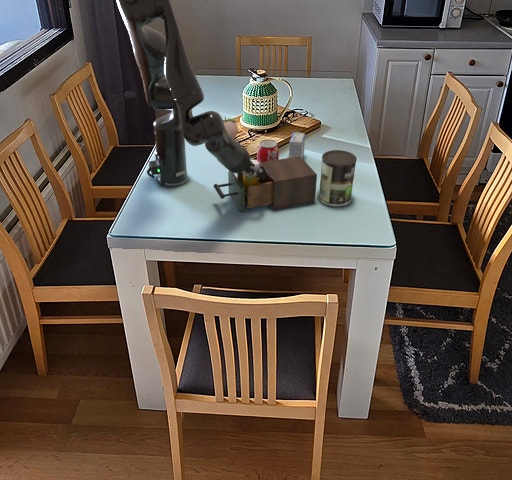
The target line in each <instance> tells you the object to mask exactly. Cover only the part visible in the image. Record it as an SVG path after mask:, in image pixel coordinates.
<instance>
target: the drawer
mask: <svg viewBox="0 0 512 480" xmlns="http://www.w3.org/2000/svg"><path fill="white" fill-rule="evenodd" d="M227 179H228V180H227V182H228V183H221V184H218V183H214V184H213V188H214V190H215V192H216V193H217V195H218V197H219V198H220V199H222V200H224V199H225V198H227V197H230V199H231V200H232V201H233V203H234V204H235V206H236V207H237V209H238V210H239V212H240V213H244V212H245V207H246V208H247V209H252V208H258V207H264V206H270V204H273V182H272V180H271V179H270V178H269V177H268V175H266V180H265V182H264V183H261V184H255V185H249V186H247V194H245V188H244V187H243V175H242V174H241V173H232V172H230V171H229V170H228V172H227ZM223 187H228V193H225V194H224V192H223V191H222V189H221V188H223Z"/></svg>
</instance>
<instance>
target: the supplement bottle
mask: <svg viewBox="0 0 512 480" xmlns="http://www.w3.org/2000/svg"><path fill="white" fill-rule="evenodd" d="M250 160H251V161H252V162H253V163H254V164H255V165H257V166H258V167H259V162H258V161H257V159H250ZM251 173H252V172H251ZM255 184H261V182H260V181H259V180H258V179H257V178H255V177H251V176H249V175H247V174H246V173H243V187H244V188H245V194H247V186H249V185H255Z"/></svg>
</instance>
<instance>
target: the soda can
mask: <svg viewBox="0 0 512 480" xmlns="http://www.w3.org/2000/svg"><path fill="white" fill-rule="evenodd" d="M279 155H280V147H279V146H278V142H277V141H276V140H274V139H262V140H261V141H259V143H258V146H257V149H256V160H257V161H258V162H259V163H260V162H266V161H273V160H279V159H280V156H279Z"/></svg>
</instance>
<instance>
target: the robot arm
mask: <svg viewBox="0 0 512 480" xmlns="http://www.w3.org/2000/svg"><path fill="white" fill-rule="evenodd" d="M116 3H117V7H118V9H119V12H120V15H121V17H122V20H123V22H124V25H125V27H126V29H127V32H128V35H129V39H130V42H131V45H132V49H133V54H134V58H135V61H136V64H137V68H138V70H139V73H140V76H141V79H142V80H141V81H142V84H143V90H144V96H145V101H146V103H147V106H148V107H149V108H150V109H152V110H154V111H170V112H169V113H167V114H165V115H162V116H160V117H157V119H155V120H154V122H153V131H154V132H153V133H154V143H155V151H154V157H155V160H148V169H147V170H146V174H147V175H148V177H150V178H151V179H154V178H155V177H157V180H158V182H159V184H160V186H161V187H163V186H167V187H179V186H181V185H184V184H185V183H186V182H187V181H188V178H189V177H188V169H187V155H186V154H187V153H186V142H187V143H188V144H189V145H190V146H192V147H198V146H201V145H203V144H204V146H205V149H206V150H207V152H208V153H210V155H212V156H213V157H214V158H215V159H216V160H217V161H218V163H219V164H220V165H222V166H223V167H224V168H225V169H226V170H228V171H230V172H232V173H234V174H237V173H241V174H242V175H243V173H246V174H247V175H249V176H251V177H255V178H257V179H258V180H259V181H260V182H261V183H264V182H265V180H266V175H267V172H266V170H265V169H264V167H263V166H260V167H258V166H257V165H255V164H254V163H253V162H252V161H251V160H252V159H251V155H250V153H249V151H248V150H247V149H246V148H245V147H244V146H243V145H242V144H241V143H240V142H239V141H238V140H236V139H235V138H232V137H231V136H230V135H229V134H228V132H227V130H226V128H225V126H224V123H223V120H224V119H223V117H222V115H221V114H220V113H219V112H218V111H215V110H208V111H205V112H202V113H199V114H197V115H193V109H194V108H196V107H197V106H199V105H200V104H201V103H203V101H204V100H205V94H204V92H203V89H202V87H201V85H200V82H199V80H198V77H197V76H196V74H195V71H194V69H193V67H192V64H191V61H190V59H189V56H188V53H187V49H186V46H185V42H184V39H183V36H182V33H181V30H180V26H179V23H178V21H177V17H176V14H175V12H174V8H173V5H172V2H171V0H116ZM159 19H161V21H162V25H163V27H164V33H165V36H164V35H163V34H162V33H161V32H160V31H158V30H157V29H154V28H152V27H150V26H147V25H148V24H150V23H153V22H154V21H157V20H159ZM222 119H223V120H222ZM251 172H252V173H251Z"/></svg>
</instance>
